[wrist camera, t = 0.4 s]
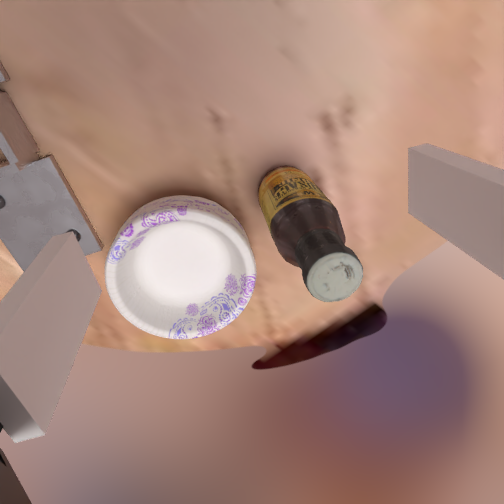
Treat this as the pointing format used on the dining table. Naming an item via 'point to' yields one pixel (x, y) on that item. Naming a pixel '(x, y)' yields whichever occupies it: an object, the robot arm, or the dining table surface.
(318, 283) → the sauce bottle
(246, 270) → the paper bowls
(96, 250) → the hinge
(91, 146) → the dining table surface
